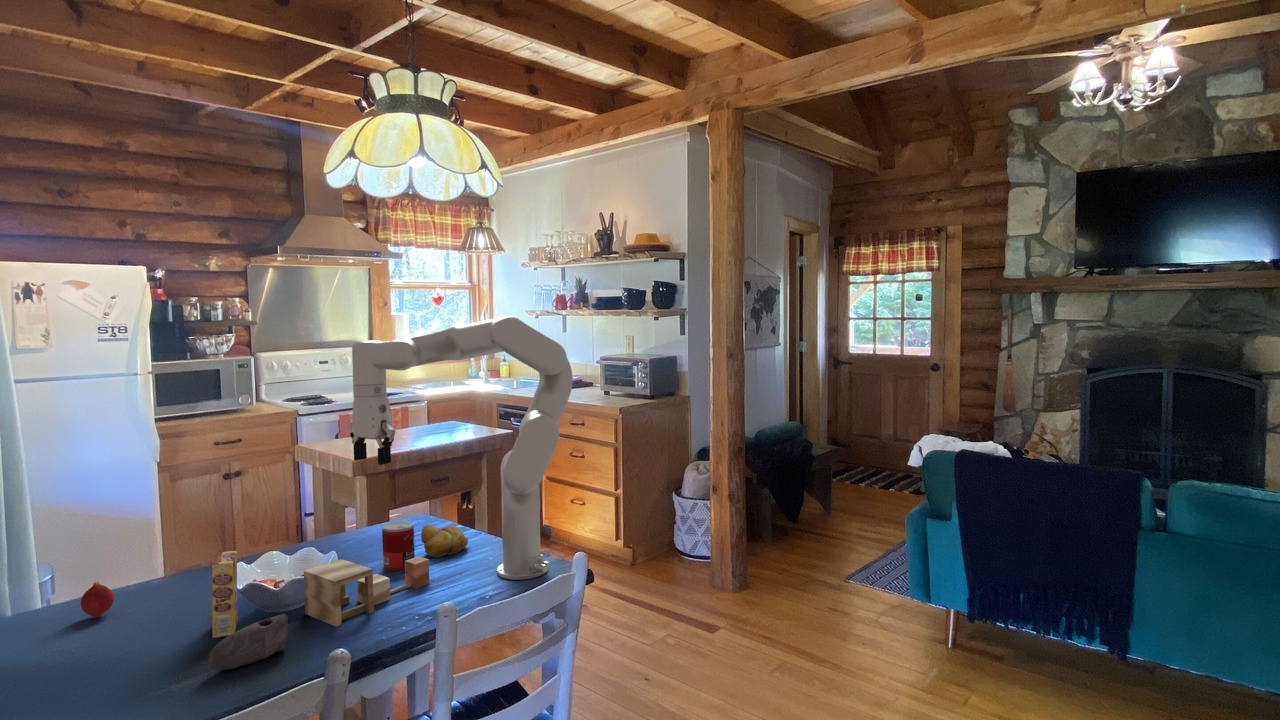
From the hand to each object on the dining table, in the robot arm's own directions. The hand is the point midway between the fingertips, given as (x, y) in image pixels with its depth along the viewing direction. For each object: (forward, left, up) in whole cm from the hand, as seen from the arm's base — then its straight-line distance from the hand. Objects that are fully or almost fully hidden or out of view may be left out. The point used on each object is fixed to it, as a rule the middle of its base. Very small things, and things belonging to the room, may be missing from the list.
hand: (372, 461), depth 171 cm
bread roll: (+4, -26, -31) cm, 40 cm away
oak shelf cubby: (-9, +15, -30) cm, 35 cm away
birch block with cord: (-9, +1, -30) cm, 32 cm away
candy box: (+4, +33, -31) cm, 45 cm away
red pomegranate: (+34, +46, -31) cm, 65 cm away
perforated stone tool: (-15, +37, -31) cm, 50 cm away
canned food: (+6, -11, -31) cm, 33 cm away
